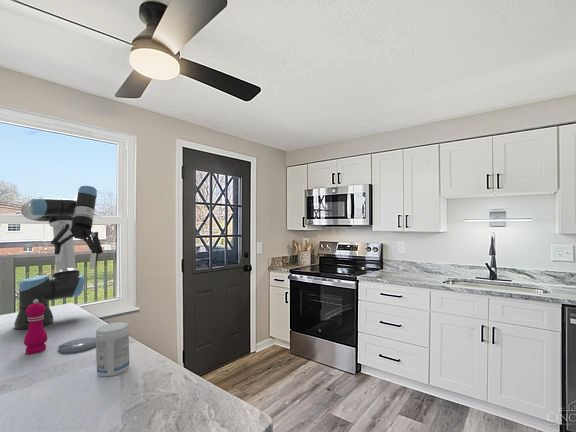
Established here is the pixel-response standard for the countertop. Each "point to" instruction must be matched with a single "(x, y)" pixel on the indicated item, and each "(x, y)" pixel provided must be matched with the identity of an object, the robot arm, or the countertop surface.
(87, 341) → the saucer
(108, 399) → the countertop surface
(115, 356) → the supplement tub
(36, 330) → the pepper mill
